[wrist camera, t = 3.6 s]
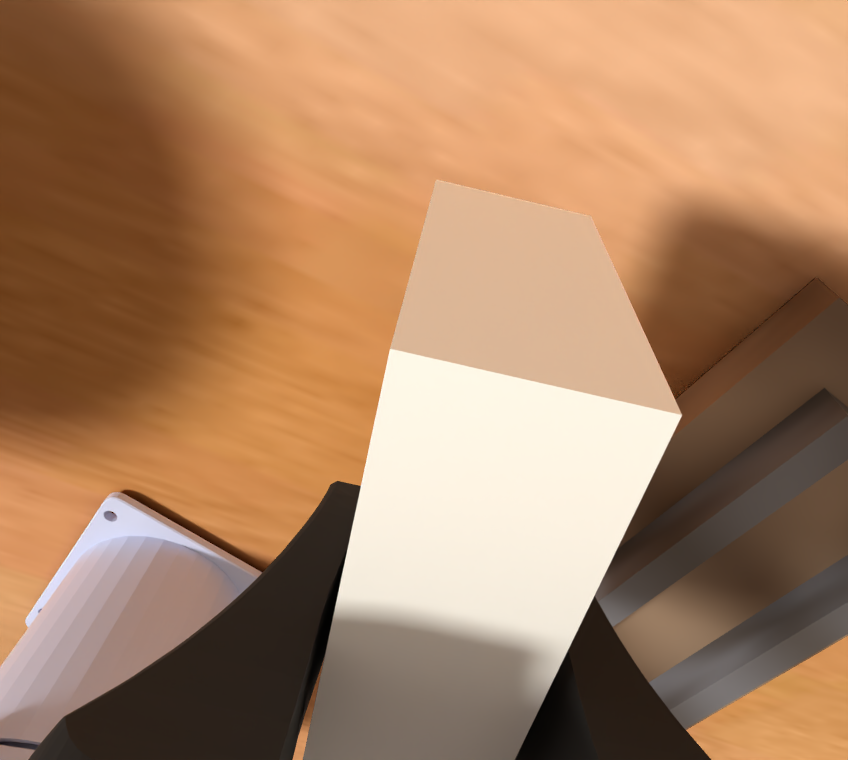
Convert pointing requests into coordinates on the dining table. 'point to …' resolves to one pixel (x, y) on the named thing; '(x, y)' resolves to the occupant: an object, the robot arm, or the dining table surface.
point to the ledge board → (744, 519)
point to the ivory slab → (488, 483)
